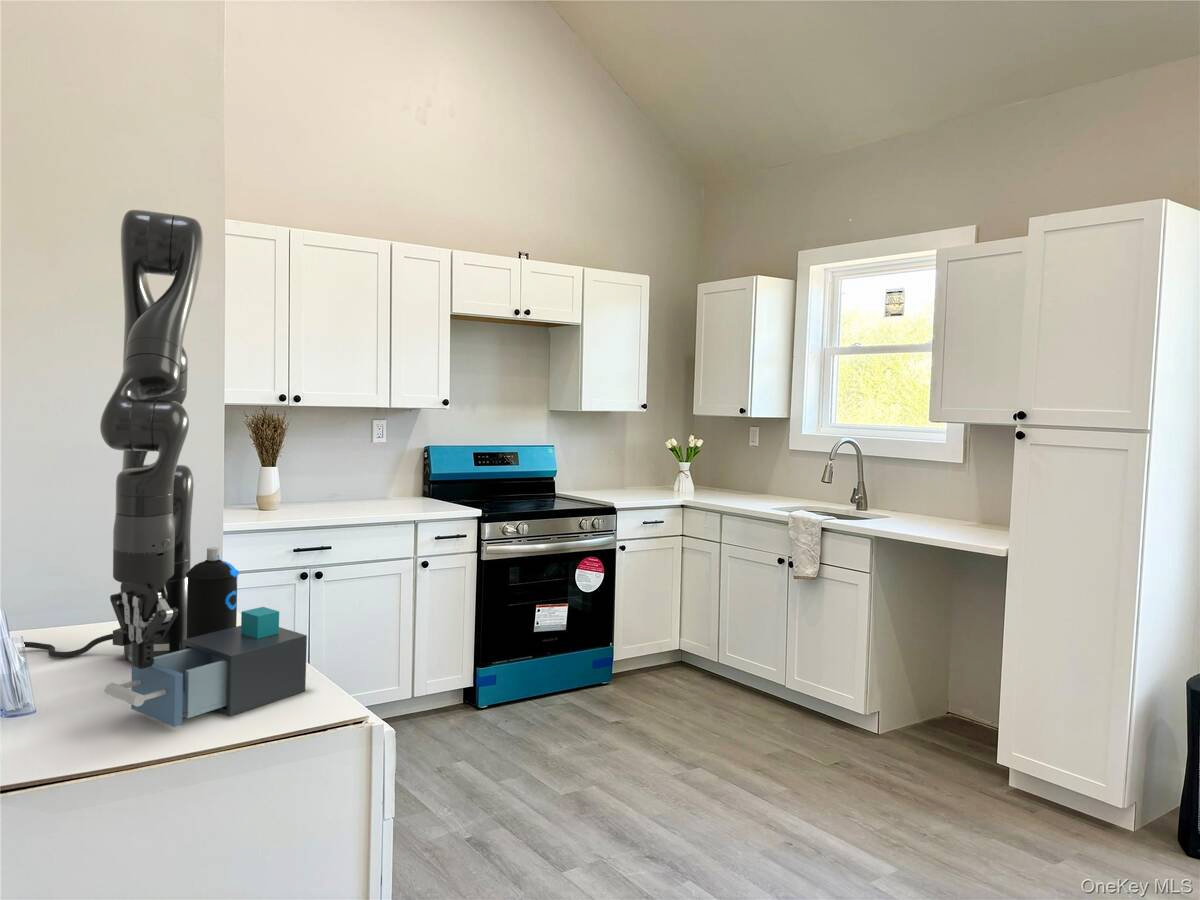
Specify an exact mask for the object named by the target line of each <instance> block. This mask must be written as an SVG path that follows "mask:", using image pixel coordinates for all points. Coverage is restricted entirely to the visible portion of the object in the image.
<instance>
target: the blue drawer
mask: <svg viewBox="0 0 1200 900" xmlns="http://www.w3.org/2000/svg"><path fill="white" fill-rule="evenodd" d="M227 674H228V660H226V659H223V658H220V657H218V656H215V655H212V654H209V653H206V652H203V651H200V650H197V649H194V648H189V649H185V650H181V651H177V652H173V653H169V654H165V655H161V656H157V657H154V660H153V665H152V666H151V667H147V668H143V669H139V668H136V667H134V666H133V665H132V664H131V680H130V681H127V682H124V683H120V684H118V683H115V682H109V683H108V684H107V685H106V686H105V688H104V693H105V694H106V695H108V696H111V697H113V698H114V699H118V700H119V701H121V702H125V703H127V704H129V705H130V709H131V710H133V711H135V712H137V713H140V714H142V715H145V716H147V717H149V718H151V719H154V720H156V721H159V722H161V723H164V724H166V725H168V726H171V727H173V728H177V727H179V726H182V725H183V717H184V718H186V719H191V718H193V717H196V716H200V715H203V714H205V713H208V712H211V711H215V709H218V708H221V707H224V706H227ZM129 688H131V689H129Z"/></svg>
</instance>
